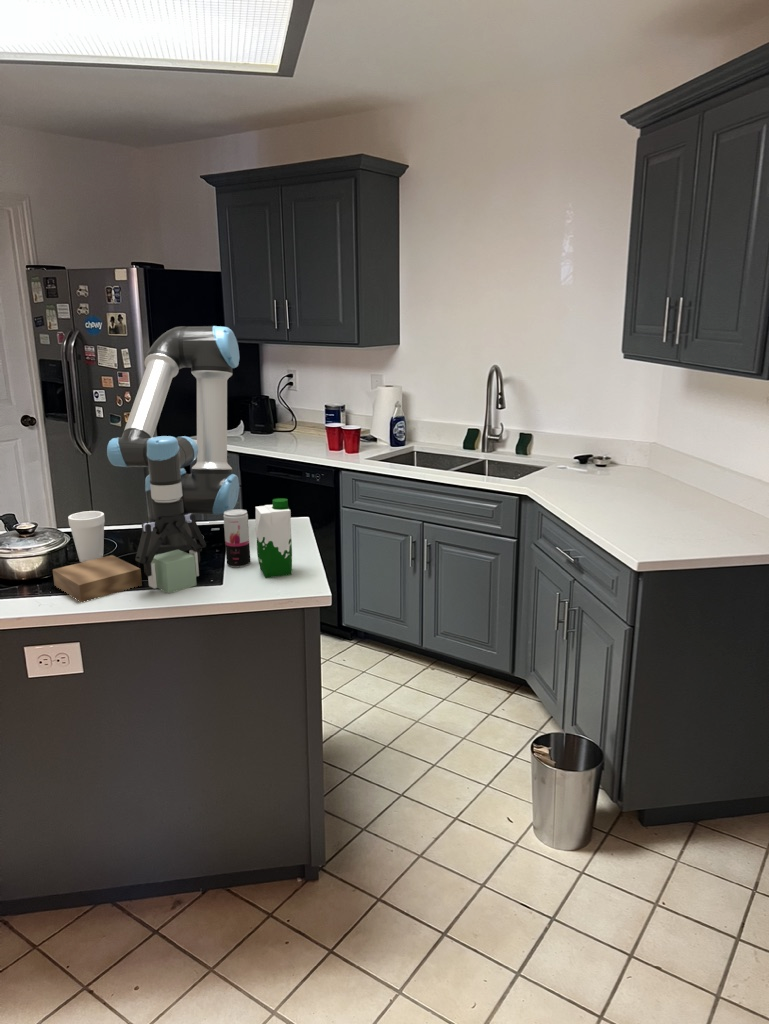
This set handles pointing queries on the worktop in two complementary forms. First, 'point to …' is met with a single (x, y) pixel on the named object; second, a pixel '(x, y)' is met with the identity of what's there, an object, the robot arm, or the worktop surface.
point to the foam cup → (88, 534)
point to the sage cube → (174, 571)
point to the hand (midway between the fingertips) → (174, 580)
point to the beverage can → (237, 538)
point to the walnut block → (97, 578)
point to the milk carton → (274, 538)
